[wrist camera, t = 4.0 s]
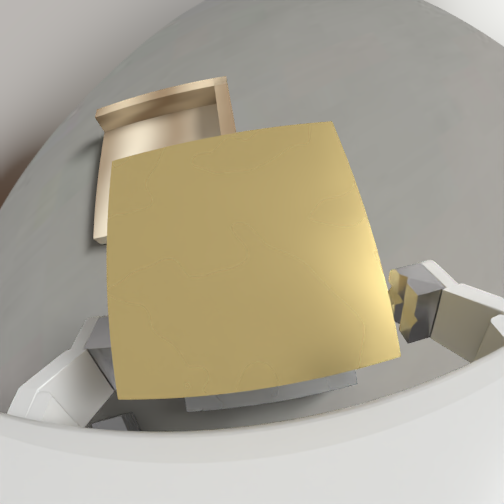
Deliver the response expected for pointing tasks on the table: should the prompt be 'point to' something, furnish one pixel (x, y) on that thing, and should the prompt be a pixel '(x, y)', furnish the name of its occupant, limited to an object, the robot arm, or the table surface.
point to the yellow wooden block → (242, 266)
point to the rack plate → (158, 128)
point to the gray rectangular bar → (118, 423)
